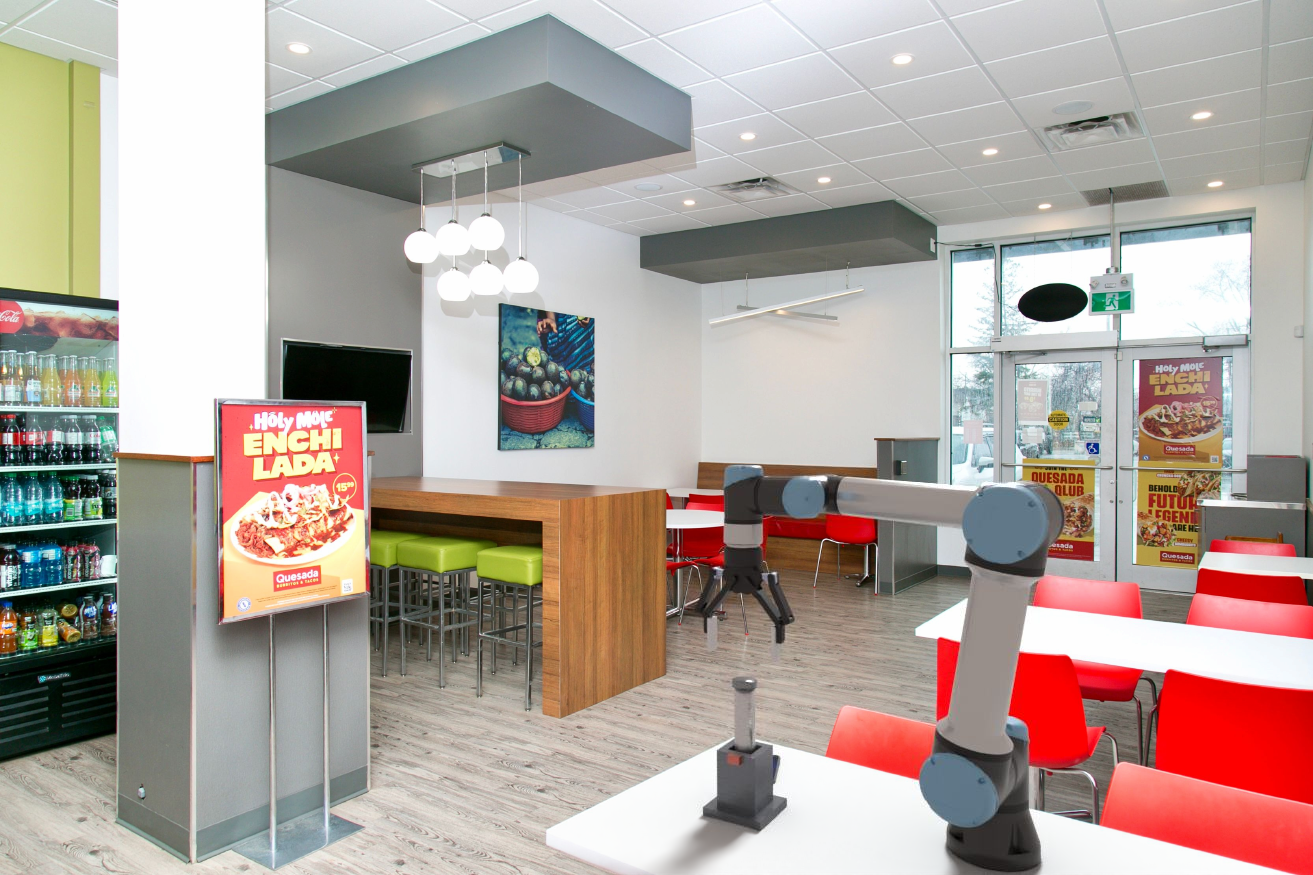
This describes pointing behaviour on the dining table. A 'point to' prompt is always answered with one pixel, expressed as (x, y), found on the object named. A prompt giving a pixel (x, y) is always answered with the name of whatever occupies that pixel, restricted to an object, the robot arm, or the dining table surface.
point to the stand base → (745, 787)
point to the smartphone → (775, 766)
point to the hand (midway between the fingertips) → (743, 655)
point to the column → (744, 713)
